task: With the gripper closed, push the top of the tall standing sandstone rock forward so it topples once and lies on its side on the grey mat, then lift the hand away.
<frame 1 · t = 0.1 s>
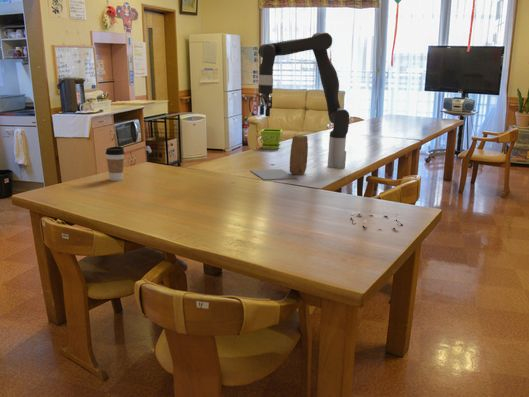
hand: (264, 115, 257), 29 cm above the table, fingers open, 8 cm apart
sandstone rock: (297, 173, 257), on the table, touching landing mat
flower pot: (271, 148, 339), on the table
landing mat: (273, 174, 252), on the table
game piece set: (375, 223, 179), on the table
coffee cup: (116, 179, 229), on the table
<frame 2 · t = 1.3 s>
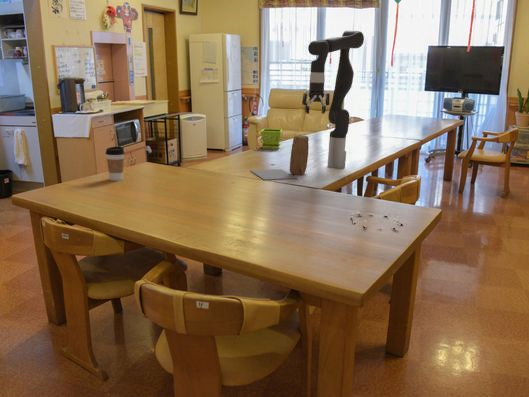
hand: (315, 113, 253), 32 cm above the table, fingers open, 8 cm apart
nothing on the table moved.
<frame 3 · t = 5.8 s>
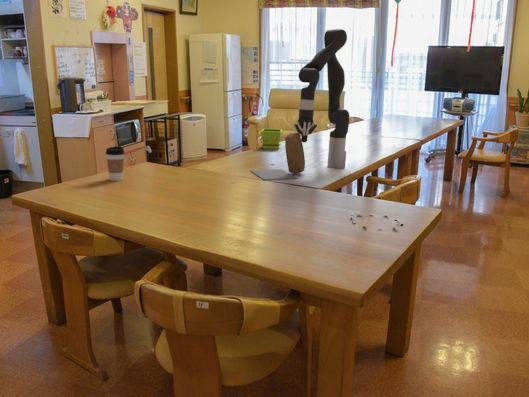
hand: (304, 142, 253), 17 cm above the table, fingers closed
sandstone rock: (297, 171, 257), point 1 cm above the table, touching gripper, hand, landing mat
everything else where it was.
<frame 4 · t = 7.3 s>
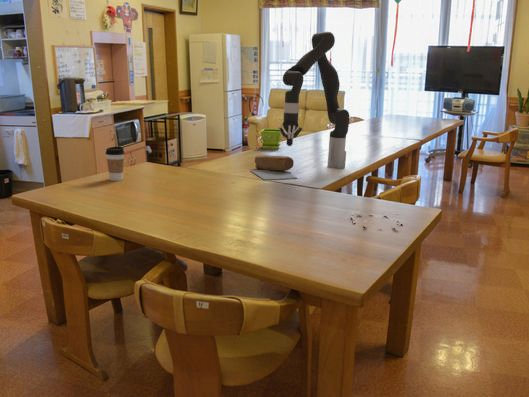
hand: (289, 145, 251), 15 cm above the table, fingers closed
sandstone rock: (289, 163, 258), point 5 cm above the table, touching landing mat
everything else where it was.
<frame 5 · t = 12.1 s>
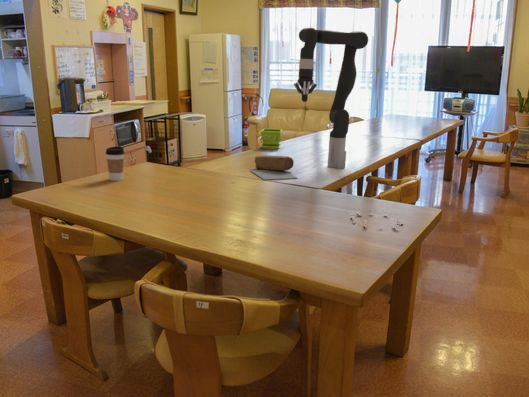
hand: (304, 101, 259), 37 cm above the table, fingers closed
sandstone rock: (289, 163, 258), point 5 cm above the table, touching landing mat
everything else where it was.
at the end: sandstone rock tilted 95°; sandstone rock touching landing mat, table; sandstone rock inside the target area (8.9 cm from its centre), point 5.0 cm above the table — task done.
